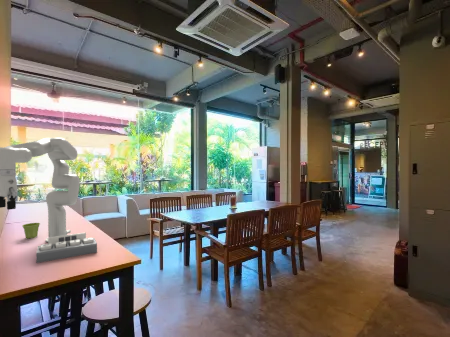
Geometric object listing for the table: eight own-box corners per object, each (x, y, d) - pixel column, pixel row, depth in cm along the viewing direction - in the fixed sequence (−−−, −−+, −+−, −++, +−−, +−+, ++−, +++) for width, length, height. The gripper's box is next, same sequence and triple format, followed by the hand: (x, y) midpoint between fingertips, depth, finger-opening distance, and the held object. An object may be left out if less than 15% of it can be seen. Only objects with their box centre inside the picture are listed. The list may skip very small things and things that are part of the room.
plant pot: (28, 240, 160) (28, 226, 160) (18, 238, 163) (18, 225, 163) (43, 236, 169) (43, 223, 168) (33, 234, 172) (33, 222, 171)
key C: (70, 248, 135) (70, 242, 135) (69, 245, 138) (69, 240, 138) (80, 246, 137) (80, 241, 137) (79, 244, 141) (79, 239, 141)
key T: (84, 246, 138) (83, 240, 138) (83, 243, 142) (83, 238, 142) (93, 244, 141) (93, 239, 141) (92, 242, 145) (92, 237, 145)
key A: (40, 253, 127) (40, 247, 127) (40, 250, 131) (40, 244, 131) (51, 251, 130) (51, 245, 130) (51, 248, 134) (51, 243, 134)
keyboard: (36, 262, 124) (36, 245, 123) (38, 255, 134) (37, 238, 133) (97, 252, 139) (96, 236, 138) (94, 246, 149) (94, 231, 148)
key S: (55, 250, 131) (55, 244, 131) (55, 248, 135) (55, 242, 135) (66, 249, 134) (66, 243, 134) (65, 246, 137) (65, 241, 137)
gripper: (24, 173, 120) (24, 208, 120) (6, 172, 127) (7, 205, 128) (4, 173, 113) (5, 211, 113) (-13, 173, 121) (-12, 208, 121)
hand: (6, 208), depth 121 cm, fingers open, 9 cm apart
